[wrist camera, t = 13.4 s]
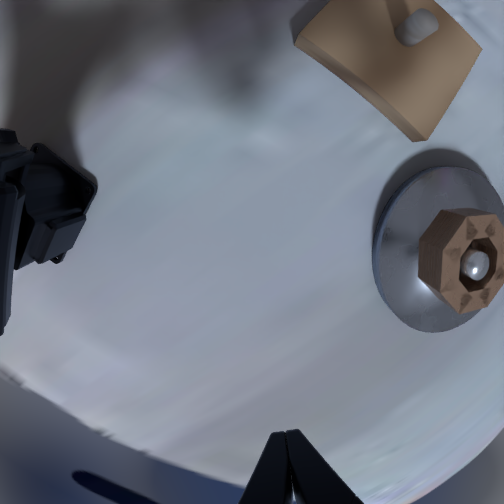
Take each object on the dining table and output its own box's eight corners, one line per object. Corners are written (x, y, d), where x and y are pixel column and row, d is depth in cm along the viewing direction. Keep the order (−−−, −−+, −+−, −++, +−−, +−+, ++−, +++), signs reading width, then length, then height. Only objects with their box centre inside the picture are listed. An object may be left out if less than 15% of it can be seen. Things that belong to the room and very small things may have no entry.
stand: (294, 45, 17) (307, 11, 12) (368, -31, 15) (391, -65, 11) (412, 142, 19) (453, 137, 14) (467, 55, 17) (506, 39, 12)
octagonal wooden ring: (416, 302, 20) (436, 320, 17) (418, 211, 19) (443, 218, 16) (481, 287, 20) (504, 302, 17) (486, 206, 18) (512, 212, 16)
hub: (337, 268, 21) (359, 292, 17) (435, 131, 19) (473, 126, 14) (436, 348, 23) (463, 376, 18) (515, 234, 21) (550, 246, 16)
